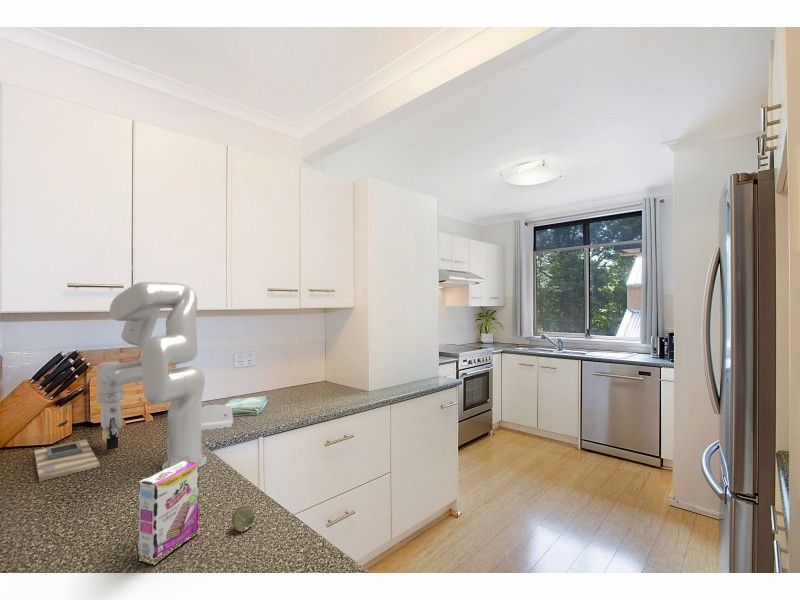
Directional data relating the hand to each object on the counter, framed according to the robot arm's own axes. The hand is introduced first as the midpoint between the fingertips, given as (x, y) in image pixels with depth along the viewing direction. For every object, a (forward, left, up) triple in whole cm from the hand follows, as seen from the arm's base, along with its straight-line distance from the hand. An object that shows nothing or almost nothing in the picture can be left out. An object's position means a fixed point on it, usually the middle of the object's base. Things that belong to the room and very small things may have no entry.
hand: (110, 445), depth 137 cm
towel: (+40, -40, -2) cm, 56 cm away
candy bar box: (-67, -39, -2) cm, 78 cm away
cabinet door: (-7, +10, -2) cm, 12 cm away
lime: (-64, -53, -2) cm, 83 cm away
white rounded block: (+18, -30, -2) cm, 35 cm away
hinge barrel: (0, 0, -2) cm, 2 cm away
